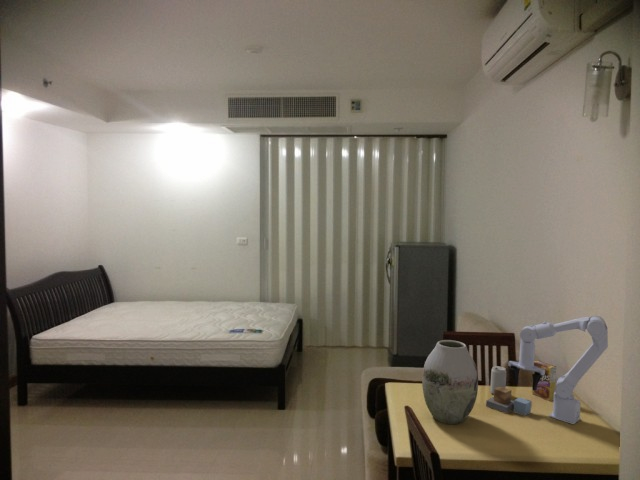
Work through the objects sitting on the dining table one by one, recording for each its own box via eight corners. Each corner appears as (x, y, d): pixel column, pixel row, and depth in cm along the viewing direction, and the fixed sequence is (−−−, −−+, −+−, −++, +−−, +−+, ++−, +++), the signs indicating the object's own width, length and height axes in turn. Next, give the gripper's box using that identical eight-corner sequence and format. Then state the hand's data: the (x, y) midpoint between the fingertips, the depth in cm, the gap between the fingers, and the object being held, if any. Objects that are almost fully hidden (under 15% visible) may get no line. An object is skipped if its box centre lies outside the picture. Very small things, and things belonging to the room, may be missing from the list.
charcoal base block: (516, 408, 197) (516, 401, 197) (506, 414, 191) (506, 407, 191) (496, 402, 204) (496, 395, 204) (485, 407, 198) (486, 400, 197)
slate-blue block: (530, 412, 193) (531, 400, 192) (525, 416, 189) (526, 404, 189) (518, 408, 196) (519, 397, 196) (513, 411, 193) (514, 400, 193)
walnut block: (510, 401, 197) (511, 390, 197) (504, 404, 194) (505, 392, 193) (499, 397, 201) (500, 386, 200) (493, 400, 197) (494, 388, 197)
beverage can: (487, 392, 214) (488, 366, 213) (497, 390, 216) (498, 364, 216) (497, 397, 208) (499, 371, 207) (508, 395, 210) (509, 369, 210)
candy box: (531, 394, 213) (533, 361, 212) (537, 392, 215) (539, 360, 214) (548, 401, 205) (550, 367, 204) (554, 399, 207) (557, 366, 206)
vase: (482, 431, 174) (486, 353, 172) (425, 428, 176) (428, 350, 174) (468, 407, 195) (471, 337, 194) (417, 405, 197) (420, 335, 195)
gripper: (505, 352, 197) (504, 384, 198) (540, 361, 187) (538, 394, 188) (513, 349, 202) (511, 380, 203) (547, 358, 192) (545, 390, 192)
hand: (525, 386), depth 196 cm, fingers open, 7 cm apart
